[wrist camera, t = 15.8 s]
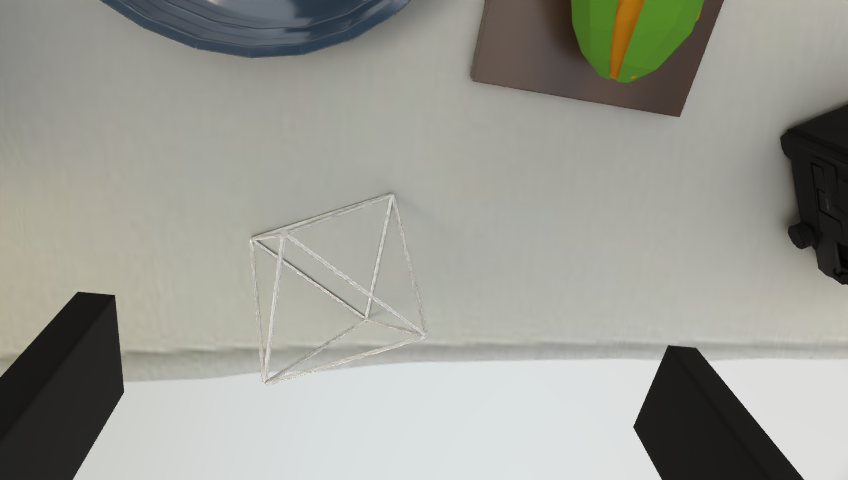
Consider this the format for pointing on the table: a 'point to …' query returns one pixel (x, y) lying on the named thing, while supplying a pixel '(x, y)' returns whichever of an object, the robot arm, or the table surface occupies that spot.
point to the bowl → (258, 23)
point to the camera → (822, 189)
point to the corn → (631, 33)
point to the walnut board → (578, 57)
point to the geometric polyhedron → (304, 224)
